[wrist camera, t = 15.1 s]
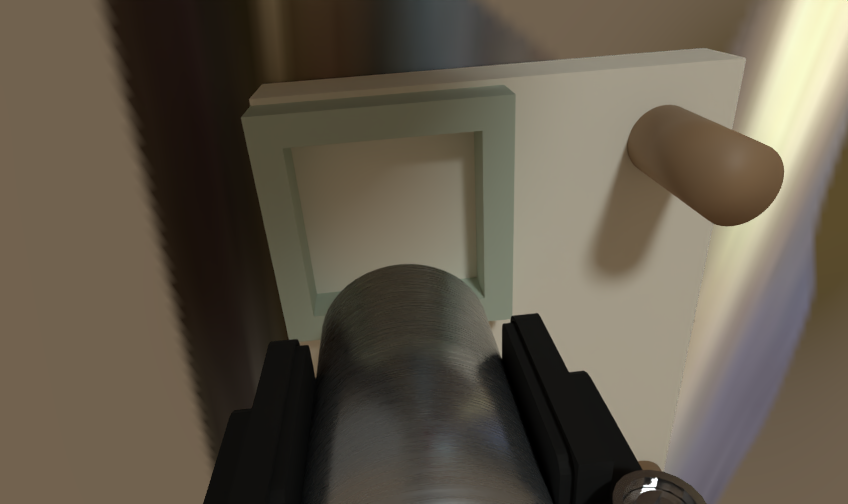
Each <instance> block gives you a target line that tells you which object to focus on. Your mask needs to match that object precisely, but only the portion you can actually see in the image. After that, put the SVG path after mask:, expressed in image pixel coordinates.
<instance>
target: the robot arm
mask: <svg viewBox="0 0 848 504" xmlns="http://www.w3.org/2000/svg"><path fill="white" fill-rule="evenodd" d="M502 361H503V364H504V366H505V369H506V372H507V375H508V378H509V380H510V383H511V386H512V389H513V392H514V394H515V397H516V400H517V403H518V406H519V408H520V411H521V414H522V417H523V420H524V422H525V425H526V428H527V431H528V434H529V436H530V439H531V442H532V445H533V448H534V450H535V453H536V456H537V459H538V462H539V464H540V467H541V470H542V473H543V476H544V478H545V481H546V484H547V487H548V490H549V492H550V495H551V498H552V501H553V504H706V502H705V501H704V499H703V497H702V496H701V495H700V494H699V493H698V492H697V491H696V490H695V489H694V488H693V487H692V486H691V485H689V484H688V483H686V482H685V481H683V480H681V479H680V478H678V477H676V476H673V475H670V474H668V473H665V472H662V471H655V470H642V468H641V466H640V464H639V462H638V461H637V459H636V457H635V455H634V454H633V452H632V450H631V448H630V446H629V445H628V443H627V441H626V439H625V438H624V436H623V434H622V432H621V430H620V429H619V427H618V425H617V423H616V421H615V420H614V418H613V416H612V414H611V413H610V411H609V409H608V407H607V405H606V404H605V402H604V400H603V398H602V397H601V395H600V393H599V391H598V389H597V388H596V386H595V384H594V382H593V380H592V379H591V377H590V376H589V374H588V373H587V372H585V371H575V372H569V371H568V369H567V367H566V365H565V363H564V361H563V359H562V357H561V356H560V354H559V352H558V350H557V348H556V346H555V344H554V342H553V340H552V338H551V336H550V334H549V332H548V330H547V328H546V326H545V324H544V322H543V321H542V319H541V317H540V315H539V314H538V313H533V314H524V315H514V316H512V317H511V320H510V323H504V324H503V325H502ZM315 382H316V378H315V373H314V368H313V363H312V358H311V352H310V348H309V345H301V346H300V343H299V341H298V339H292V340H282V341H273V342H270V343H269V346H268V349H267V353H266V357H265V361H264V365H263V369H262V372H261V376H260V380H259V384H258V388H257V392H256V396H255V399H254V403H253V407H252V409H243V410H234V411H233V412H232V413H231V416H230V418H229V421H228V424H227V428H226V431H225V434H224V437H223V441H222V444H221V447H220V450H219V454H218V457H217V460H216V464H215V467H214V470H213V473H212V477H211V480H210V484H209V486H208V490H207V493H206V496H205V499H204V503H203V504H301V498H302V489H303V481H304V473H305V465H306V456H307V448H308V440H309V432H310V423H311V415H312V407H313V399H314V390H315Z"/></svg>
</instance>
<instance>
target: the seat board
mask: <svg viewBox="0 0 848 504" xmlns="http://www.w3.org/2000/svg"><path fill="white" fill-rule="evenodd" d="M745 62H746V58H744V57H740V56H736V55H732V54H727V53H723V52H719V51H714V50H710V49H706V48H698V49H686V50H674V51H663V52H650V53H637V54H625V55H612V56H601V57H588V58H576V59H563V60H551V61H539V62H527V63H514V64H502V65H490V66H477V67H465V68H453V69H441V70H428V71H416V72H404V73H392V74H379V75H367V76H355V77H343V78H330V79H318V80H306V81H294V82H281V83H269V84H262V85H261V86H260V87H259V88H258V89H257V91H256V92H255V93H254V94H253V95H252V96H251V97H250V99H249V102H250V107H249V108H248V109H247V111H246V112H245V113H244V114H243V115H242V117H241V121H242V126H243V130H244V135H245V139H246V144H247V149H248V153H249V158H250V163H251V167H252V172H253V176H254V181H255V186H256V190H257V195H258V199H259V204H260V209H261V213H262V218H263V222H264V227H265V232H266V236H267V241H268V245H269V250H270V255H271V259H272V264H273V269H274V273H275V278H276V282H277V287H278V292H279V296H280V301H281V305H282V310H283V315H284V319H285V324H286V328H287V333H288V338H289V340H292V339H298V341H299V343H300V346H301V345H309V348H310V352H311V358H312V363H313V368H314V373H315V378H316V374H317V365H318V357H319V349H320V341H321V332H322V326H323V322H324V318H325V315H326V313H327V311H328V308H329V307H330V305H331V303H332V302H333V300H334V299H335V298H336V296H337V295H338V294H339V293H340V292H341V291H342V290H343V289H344V288H345V287H346V286H347V285H348V284H350V283H351V282H353V281H354V280H355V279H357V278H359V277H361V276H362V275H364V274H366V273H368V272H371V271H373V270H376V269H379V268H383V267H387V266H392V265H399V264H418V265H426V266H431V267H435V268H438V269H441V270H444V271H446V272H448V273H450V274H452V275H454V276H456V277H457V278H459V279H460V280H462V281H463V282H464V283H466V284H467V285H468V286H469V287H470V288H471V289H472V290H473V292H474V293H475V294H476V295H477V297H478V298H479V300H480V302H481V303H482V306H483V308H484V310H485V313H486V316H487V319H488V321H489V324H490V327H491V330H492V333H493V335H494V338H495V341H496V344H497V347H498V349H499V352H500V355H501V358H502V325H503V324H504V323H510V320H511V317H512V316H514V315H524V314H533V313H538V314H539V315H540V317H541V319H542V321H543V322H544V324H545V326H546V328H547V330H548V332H549V334H550V336H551V338H552V340H553V342H554V344H555V346H556V348H557V350H558V352H559V354H560V356H561V357H562V359H563V361H564V363H565V365H566V367H567V369H568V371H569V372H575V371H585V372H587V373H588V374H589V376H590V377H591V379H592V380H593V382H594V384H595V386H596V388H597V389H598V391H599V393H600V395H601V397H602V398H603V400H604V402H605V404H606V405H607V407H608V409H609V411H610V413H611V414H612V416H613V418H614V420H615V421H616V423H617V425H618V427H619V429H620V430H621V432H622V434H623V436H624V438H625V439H626V441H627V443H628V445H629V446H630V448H631V450H632V452H633V454H634V455H635V457H636V459H637V461H638V462H639V464H640V466H641V468H642V470H655V471H662V472H664V467H665V462H666V457H667V452H668V447H669V442H670V437H671V432H672V427H673V422H674V417H675V412H676V407H677V402H678V397H679V392H680V387H681V382H682V377H683V372H684V367H685V362H686V357H687V352H688V347H689V342H690V337H691V332H692V327H693V322H694V317H695V312H696V307H697V302H698V297H699V292H700V287H701V282H702V277H703V272H704V267H705V262H706V257H707V252H708V247H709V242H710V237H711V232H712V227H713V223H714V224H716V225H720V226H735V225H740V224H743V223H746V222H748V221H750V220H752V219H754V218H755V217H757V216H758V215H760V214H761V213H762V212H764V211H765V210H766V209H767V208H768V207H769V206H770V204H771V203H772V202H773V201H774V199H775V198H776V196H777V194H778V193H779V191H780V188H781V186H782V182H783V177H784V166H783V162H782V160H781V157H780V156H779V154H778V153H777V152H776V151H775V150H774V149H773V148H771V147H769V146H767V145H765V144H763V143H761V142H758V141H756V140H754V139H752V138H749V137H747V136H745V135H743V134H740V133H738V132H736V131H734V130H732V127H733V122H734V117H735V112H736V107H737V102H738V97H739V92H740V87H741V82H742V77H743V72H744V67H745Z"/></svg>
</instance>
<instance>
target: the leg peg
mask: <svg viewBox="0 0 848 504" xmlns="http://www.w3.org/2000/svg"><path fill="white" fill-rule="evenodd" d="M301 504H553V501H552V498H551V495H550V492H549V490H548V487H547V484H546V481H545V478H544V476H543V473H542V470H541V467H540V464H539V462H538V459H537V456H536V453H535V450H534V448H533V445H532V442H531V439H530V436H529V434H528V431H527V428H526V425H525V422H524V420H523V417H522V414H521V411H520V408H519V406H518V403H517V400H516V397H515V394H514V392H513V389H512V386H511V383H510V380H509V378H508V375H507V372H506V369H505V366H504V364H503V361H502V358H501V355H500V352H499V349H498V347H497V344H496V341H495V338H494V335H493V333H492V330H491V327H490V324H489V321H488V319H487V316H486V313H485V310H484V308H483V306H482V303H481V302H480V300H479V298H478V297H477V295H476V294H475V293H474V292H473V290H472V289H471V288H470V287H469V286H468V285H467V284H466V283H464V282H463V281H462V280H460V279H459V278H457V277H456V276H454V275H452V274H450V273H448V272H446V271H444V270H441V269H438V268H435V267H431V266H426V265H418V264H399V265H392V266H387V267H383V268H379V269H376V270H373V271H371V272H368V273H366V274H364V275H362V276H361V277H359V278H357V279H355V280H354V281H353V282H351V283H350V284H348V285H347V286H346V287H345V288H344V289H343V290H342V291H341V292H340V293H339V294H338V295H337V296H336V298H335V299H334V300H333V302H332V303H331V305H330V307H329V308H328V311H327V313H326V315H325V318H324V322H323V326H322V332H321V341H320V349H319V357H318V365H317V374H316V382H315V390H314V399H313V407H312V415H311V423H310V432H309V440H308V448H307V456H306V465H305V473H304V481H303V489H302V498H301Z"/></svg>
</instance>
